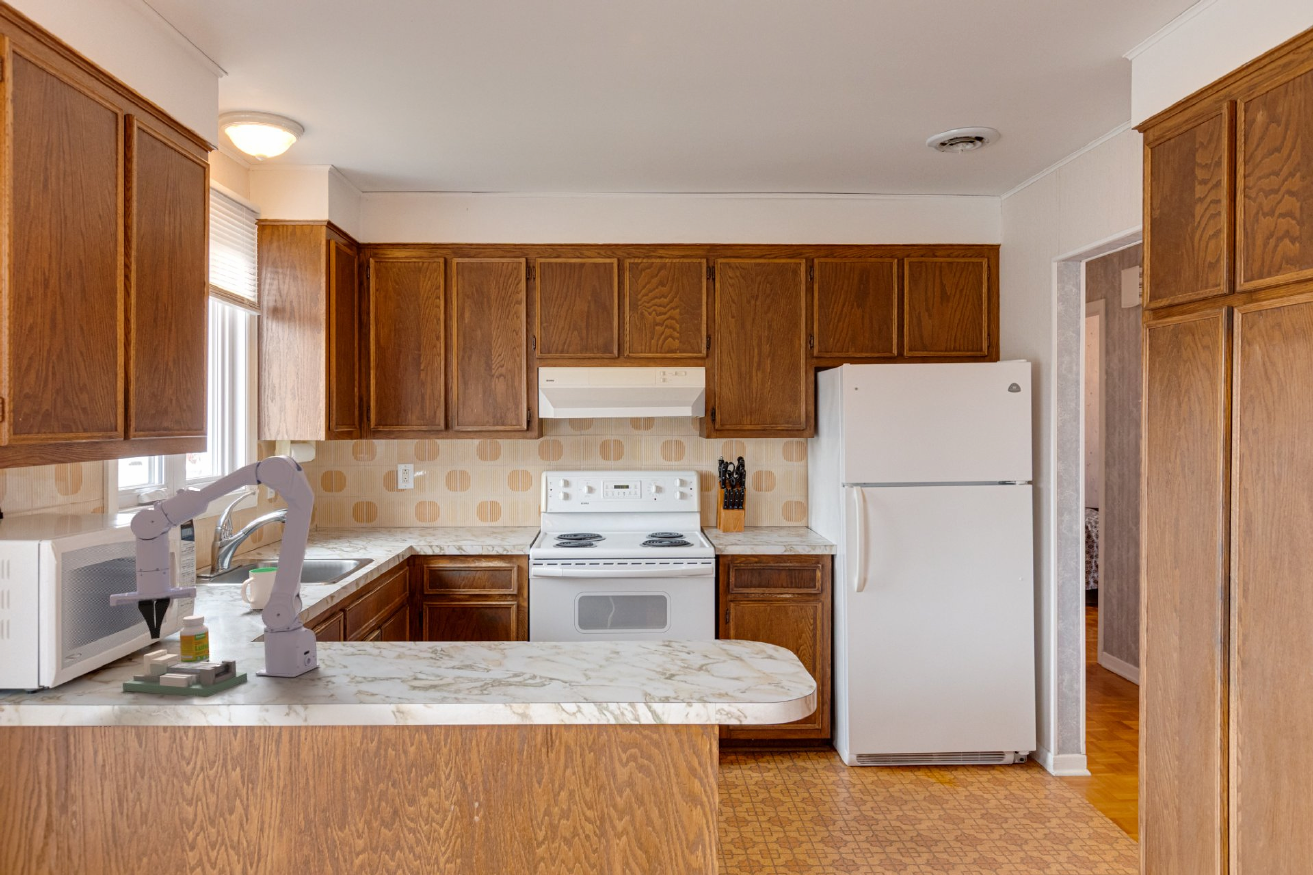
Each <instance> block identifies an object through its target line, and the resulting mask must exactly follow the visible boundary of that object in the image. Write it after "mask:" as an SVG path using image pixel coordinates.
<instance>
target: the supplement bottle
mask: <svg viewBox="0 0 1313 875" xmlns="http://www.w3.org/2000/svg"><path fill="white" fill-rule="evenodd" d="M204 623H205V616H204V615H202V614H197V615H188V616H184V617H183V619H182V624H183V626H184V627H182V628H181V629H180V631H179V645H180V646H179V647H180V649H179V650H180V663H194V664H196V663H199V662H209V660H210V638H209V637H210V636H209V631H210V630H209V627H208V626H207V625H205V624H204Z"/></svg>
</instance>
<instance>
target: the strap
mask: <svg viewBox="0 0 1313 875" xmlns="http://www.w3.org/2000/svg"><path fill="white" fill-rule="evenodd" d="M221 663H222V662H221ZM201 668H214V670H215V676H216V675H219V674H222V673H224V672H227V671H228V670H229V664H228V663H226V662H225V663H222V664H219V665H215V664H194V663H181V662H177V663H174V664H172V665H169V666H168V667H166V669H167V672H170V673H189V674H200V669H201Z"/></svg>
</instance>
